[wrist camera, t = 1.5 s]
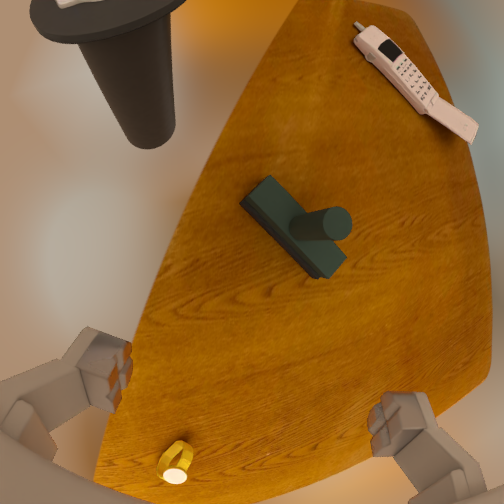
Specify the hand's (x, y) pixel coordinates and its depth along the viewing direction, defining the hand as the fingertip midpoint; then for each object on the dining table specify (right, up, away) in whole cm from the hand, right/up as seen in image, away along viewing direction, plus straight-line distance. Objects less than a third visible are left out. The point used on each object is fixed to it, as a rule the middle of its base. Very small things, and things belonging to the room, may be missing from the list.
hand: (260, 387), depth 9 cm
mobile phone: (+24, +30, +29) cm, 48 cm away
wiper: (+4, +7, +26) cm, 27 cm away
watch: (-10, -21, +24) cm, 34 cm away
